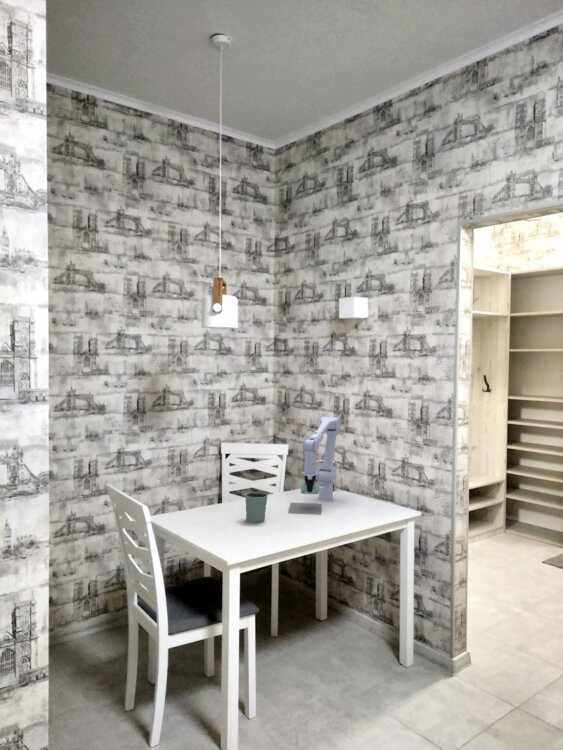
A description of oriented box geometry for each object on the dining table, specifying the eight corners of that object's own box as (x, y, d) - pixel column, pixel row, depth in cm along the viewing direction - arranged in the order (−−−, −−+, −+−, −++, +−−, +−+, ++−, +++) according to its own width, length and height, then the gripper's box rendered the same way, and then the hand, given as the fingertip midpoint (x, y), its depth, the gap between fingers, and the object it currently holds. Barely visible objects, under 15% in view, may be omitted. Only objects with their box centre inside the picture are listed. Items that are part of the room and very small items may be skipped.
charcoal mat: (290, 503, 297) (290, 502, 297) (321, 504, 296) (321, 503, 296) (287, 514, 278) (287, 513, 278) (321, 515, 276) (321, 514, 276)
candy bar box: (336, 489, 331) (336, 460, 330) (334, 491, 326) (334, 462, 326) (317, 487, 335) (317, 459, 334) (315, 489, 330) (315, 460, 329)
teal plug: (300, 493, 287) (300, 483, 287) (301, 491, 291) (301, 481, 291) (323, 494, 286) (323, 484, 286) (323, 492, 290) (323, 482, 290)
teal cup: (240, 519, 267) (240, 494, 266) (256, 515, 274) (257, 490, 273) (255, 524, 260) (255, 498, 259) (271, 520, 267) (271, 494, 266)
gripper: (303, 460, 295) (302, 487, 296) (301, 466, 281) (301, 494, 281) (316, 461, 295) (316, 487, 295) (316, 466, 280) (315, 494, 281)
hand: (309, 490), depth 288 cm, fingers closed on teal plug, 4 cm apart
